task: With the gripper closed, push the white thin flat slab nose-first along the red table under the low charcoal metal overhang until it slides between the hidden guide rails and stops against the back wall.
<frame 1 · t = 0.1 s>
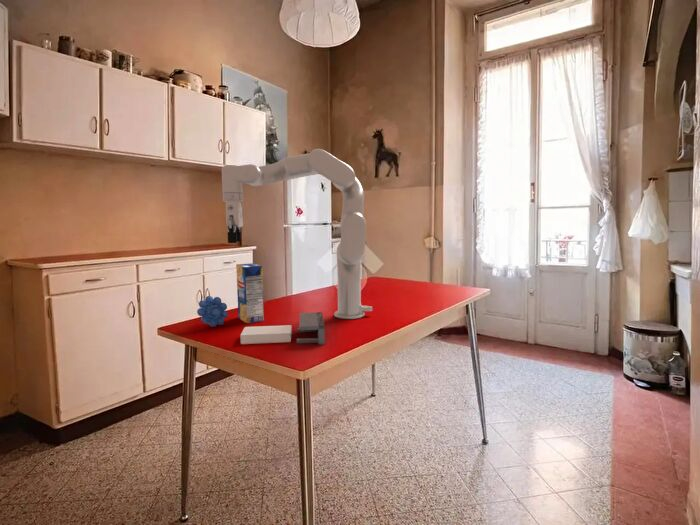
hand: (234, 242, 155), 31 cm above the table, fingers open, 9 cm apart
beverage box: (250, 319, 159), on the table
grapes: (214, 327, 148), on the table
white thin flat slab: (267, 338, 133), on the table
overhang bracket: (311, 336, 135), on the table
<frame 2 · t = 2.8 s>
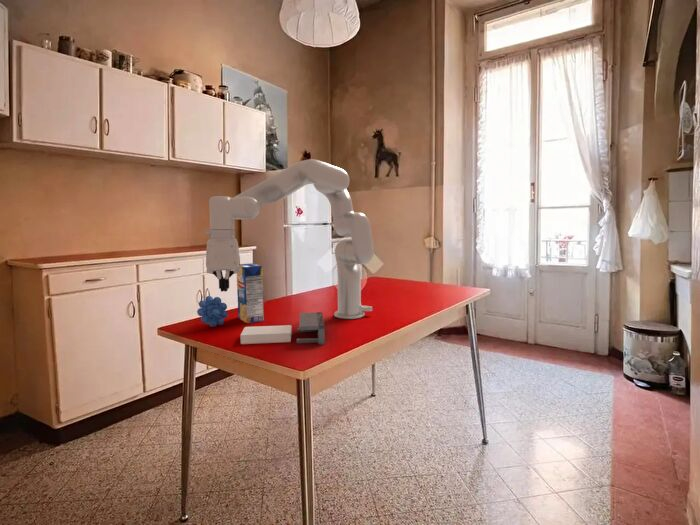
hand: (224, 290, 130), 17 cm above the table, fingers closed
nothing on the table moved.
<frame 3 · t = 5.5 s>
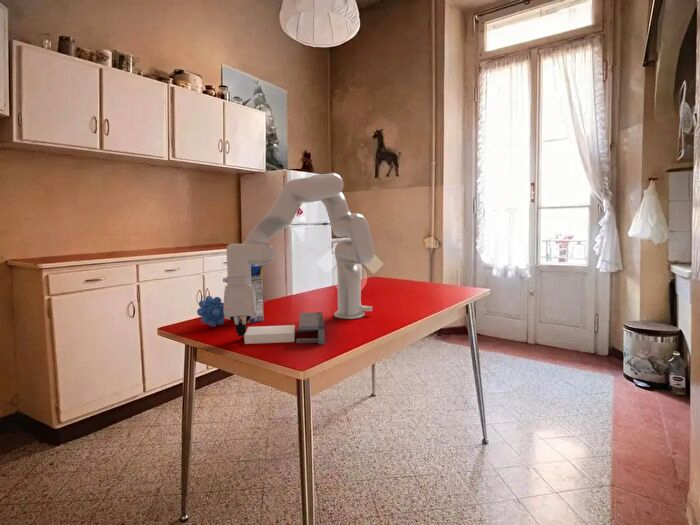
hand: (241, 335, 132), 2 cm above the table, fingers closed
white thin flat slab: (271, 338, 133), on the table, touching gripper
everything else where it was.
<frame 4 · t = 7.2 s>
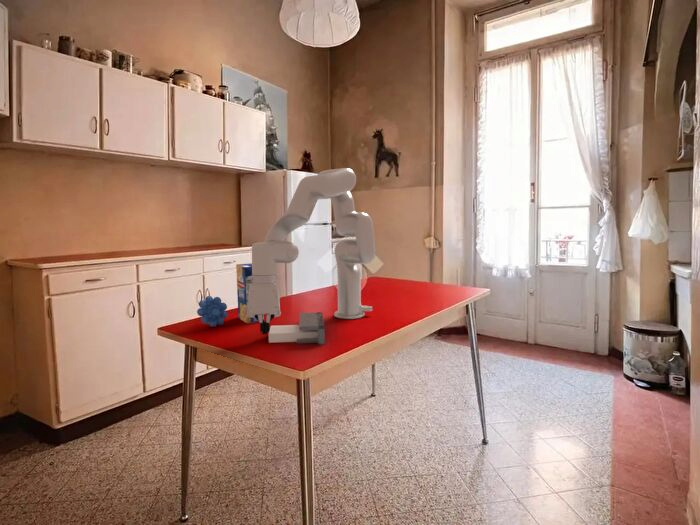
hand: (265, 333, 133), 2 cm above the table, fingers closed
white thin flat slab: (293, 337, 134), on the table, touching gripper, overhang bracket
everything else where it was.
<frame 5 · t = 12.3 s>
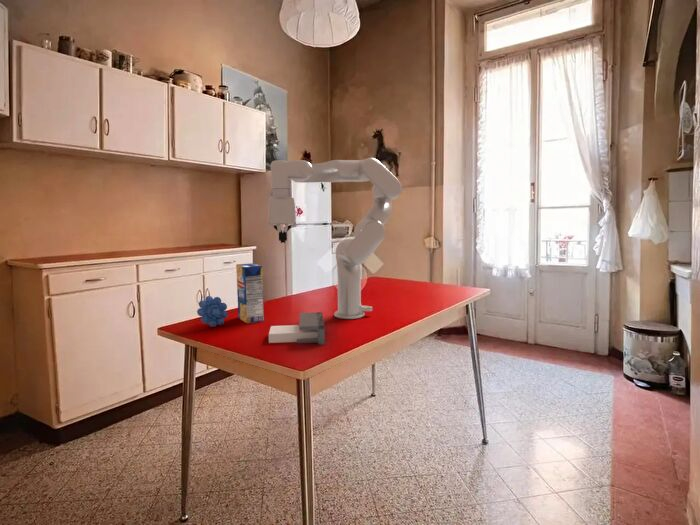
hand: (283, 242, 151), 31 cm above the table, fingers closed
white thin flat slab: (294, 337, 134), on the table
everything else where it was.
at the end: white thin flat slab 0.2 cm from the target spot on the overhang bracket, point 0.0 cm above the overhang bracket's base; white thin flat slab tilted 0°; white thin flat slab moved 9.0 cm from its start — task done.
